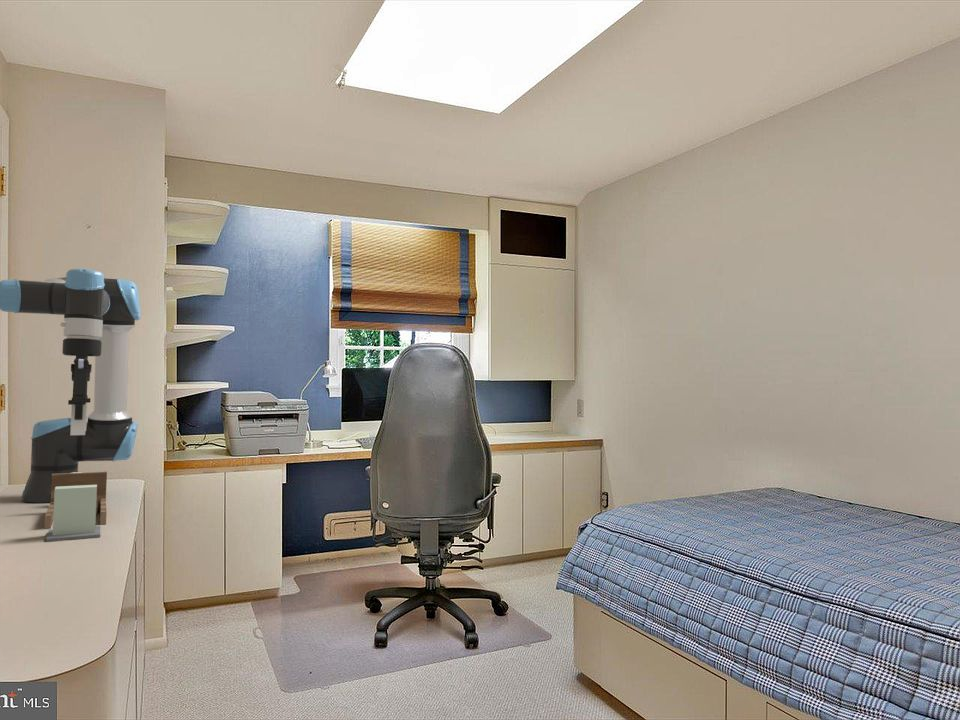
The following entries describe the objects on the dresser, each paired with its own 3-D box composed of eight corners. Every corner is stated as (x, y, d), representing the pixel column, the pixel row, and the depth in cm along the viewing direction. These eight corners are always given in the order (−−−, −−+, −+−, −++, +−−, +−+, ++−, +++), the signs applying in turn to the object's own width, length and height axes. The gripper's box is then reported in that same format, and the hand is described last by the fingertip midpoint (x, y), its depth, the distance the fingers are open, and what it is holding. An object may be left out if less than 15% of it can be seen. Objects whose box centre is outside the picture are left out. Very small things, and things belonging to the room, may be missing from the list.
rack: (50, 512, 173) (52, 473, 173) (105, 509, 179) (106, 471, 179) (44, 528, 154) (46, 485, 154) (106, 524, 160) (107, 482, 161)
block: (53, 531, 148) (55, 486, 149) (95, 528, 152) (97, 484, 153) (52, 535, 145) (54, 489, 145) (95, 532, 149) (96, 487, 149)
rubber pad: (49, 532, 150) (49, 529, 150) (100, 528, 155) (100, 525, 155) (46, 541, 142) (46, 538, 142) (100, 537, 147) (100, 534, 147)
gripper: (65, 340, 159) (61, 429, 158) (60, 334, 138) (55, 437, 137) (101, 342, 163) (98, 429, 162) (101, 336, 141) (97, 436, 141)
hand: (78, 433), depth 150 cm, fingers open, 13 cm apart
